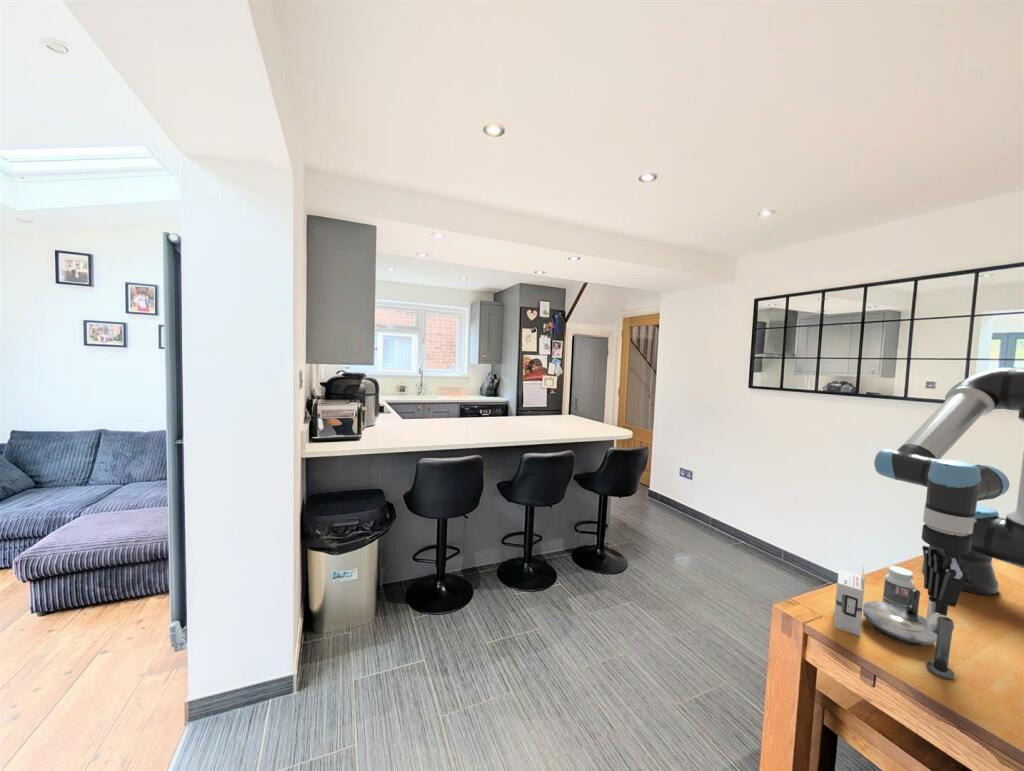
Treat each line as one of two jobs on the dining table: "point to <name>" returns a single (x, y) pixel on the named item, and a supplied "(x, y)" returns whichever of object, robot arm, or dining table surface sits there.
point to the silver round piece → (900, 619)
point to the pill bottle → (897, 586)
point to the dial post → (941, 644)
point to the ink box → (849, 601)
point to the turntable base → (897, 638)
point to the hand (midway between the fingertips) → (935, 626)
